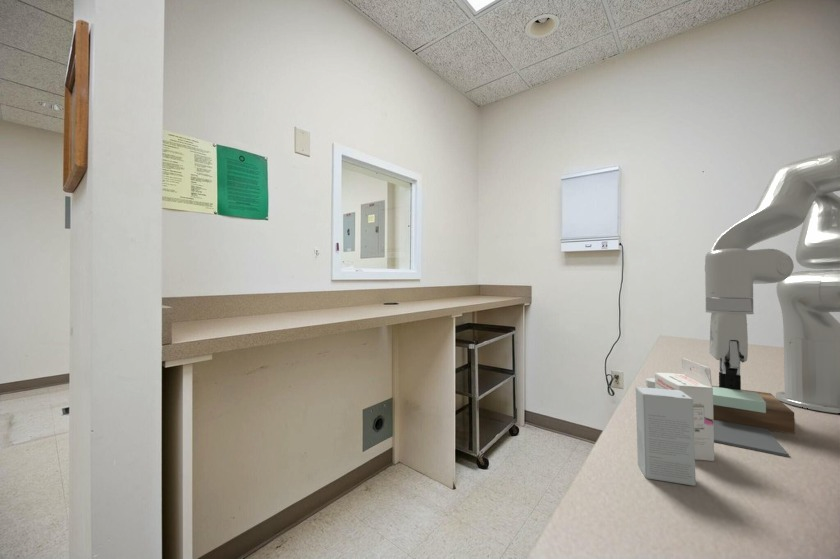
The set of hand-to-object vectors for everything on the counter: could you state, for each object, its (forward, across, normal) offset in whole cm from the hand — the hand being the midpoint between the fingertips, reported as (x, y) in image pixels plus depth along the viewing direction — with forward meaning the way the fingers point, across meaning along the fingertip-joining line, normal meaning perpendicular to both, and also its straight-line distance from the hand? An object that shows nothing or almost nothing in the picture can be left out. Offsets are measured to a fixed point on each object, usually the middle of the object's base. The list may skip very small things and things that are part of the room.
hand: (729, 392), depth 70 cm
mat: (+5, +12, -2) cm, 13 cm away
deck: (+5, -2, 0) cm, 6 cm away
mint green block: (+1, +4, 0) cm, 5 cm away
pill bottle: (+6, +13, -13) cm, 19 cm away
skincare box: (+6, +36, -12) cm, 38 cm away
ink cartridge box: (+6, +24, -10) cm, 26 cm away
